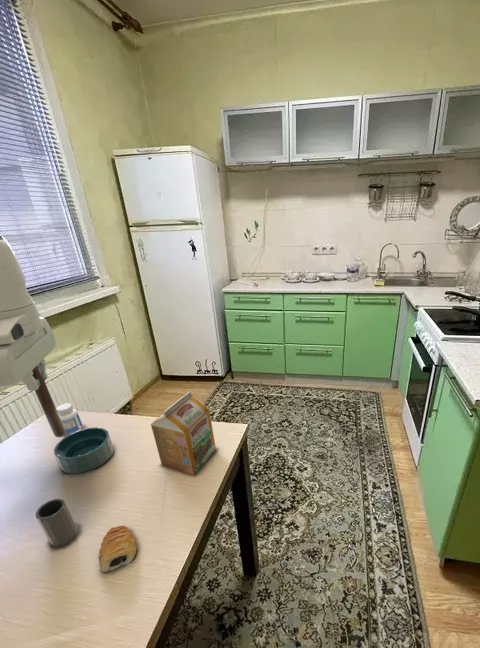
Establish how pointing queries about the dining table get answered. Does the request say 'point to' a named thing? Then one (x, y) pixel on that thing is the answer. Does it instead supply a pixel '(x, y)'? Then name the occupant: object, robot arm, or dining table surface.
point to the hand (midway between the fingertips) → (38, 384)
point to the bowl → (84, 450)
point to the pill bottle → (69, 418)
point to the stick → (48, 405)
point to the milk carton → (184, 435)
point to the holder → (57, 522)
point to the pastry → (117, 548)
